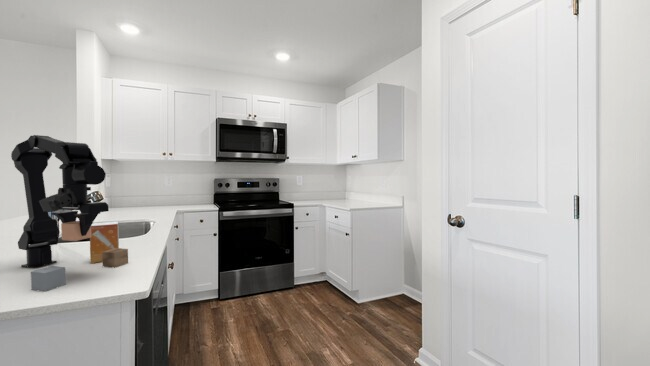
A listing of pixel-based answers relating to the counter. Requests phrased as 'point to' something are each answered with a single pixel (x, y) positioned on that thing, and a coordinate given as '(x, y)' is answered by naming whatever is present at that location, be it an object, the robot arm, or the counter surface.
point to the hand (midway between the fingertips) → (76, 235)
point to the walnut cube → (115, 257)
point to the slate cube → (48, 278)
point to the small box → (103, 239)
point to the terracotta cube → (73, 231)
